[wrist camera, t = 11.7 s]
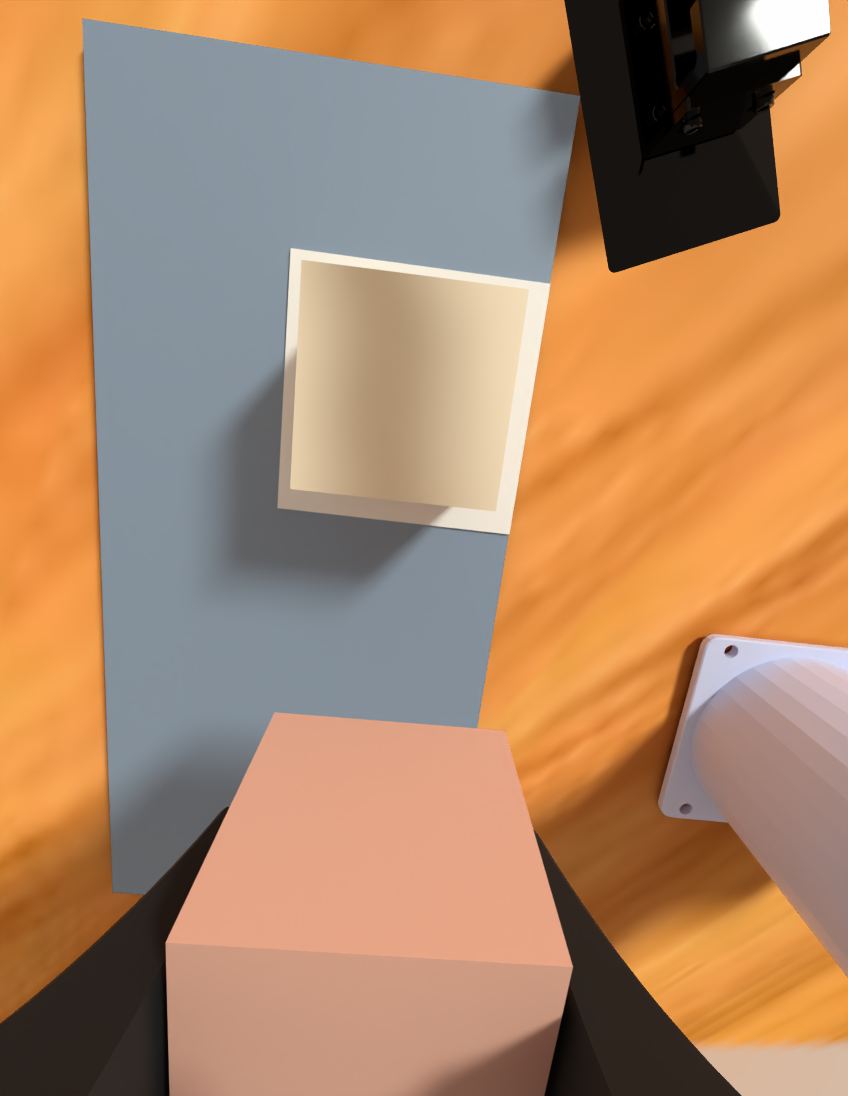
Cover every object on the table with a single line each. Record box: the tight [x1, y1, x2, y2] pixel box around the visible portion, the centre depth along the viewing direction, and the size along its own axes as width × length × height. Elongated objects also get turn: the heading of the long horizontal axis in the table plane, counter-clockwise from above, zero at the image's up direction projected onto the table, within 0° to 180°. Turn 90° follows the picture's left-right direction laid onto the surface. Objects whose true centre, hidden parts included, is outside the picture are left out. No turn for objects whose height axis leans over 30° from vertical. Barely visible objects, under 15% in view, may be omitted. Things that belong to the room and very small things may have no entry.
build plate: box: [564, 0, 831, 273], centre depth 14 cm, size 12×7×5 cm, turn 16°
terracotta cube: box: [166, 712, 573, 1096], centre depth 9 cm, size 5×5×5 cm
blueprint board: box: [82, 18, 580, 895], centre depth 18 cm, size 14×30×1 cm, turn 173°
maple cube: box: [290, 260, 529, 511], centre depth 14 cm, size 5×5×5 cm
